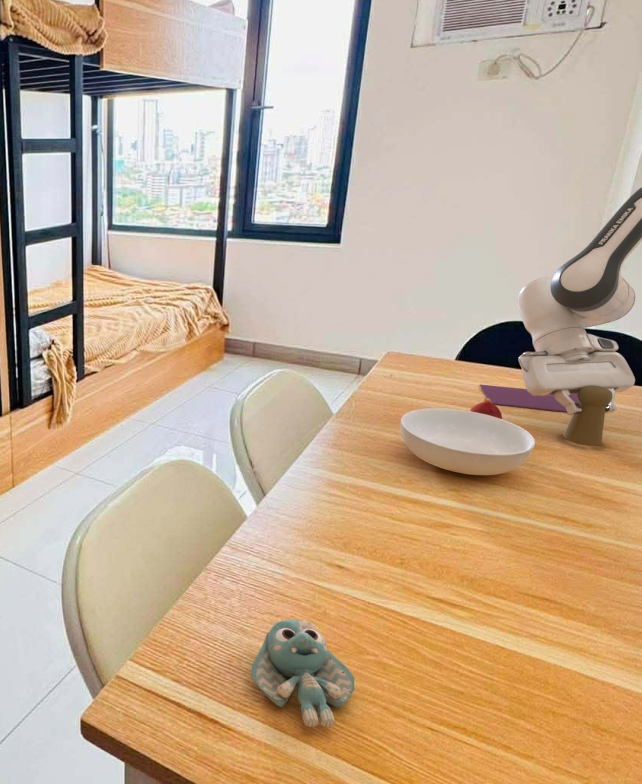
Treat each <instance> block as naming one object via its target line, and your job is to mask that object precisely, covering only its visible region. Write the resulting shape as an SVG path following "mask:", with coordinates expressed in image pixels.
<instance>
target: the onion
mask: <svg viewBox="0 0 642 784" xmlns="http://www.w3.org/2000/svg"><path fill="white" fill-rule="evenodd" d="M469 411H471V412H476V413H481V414H486V415H489V416H493V417H496V418H499V419H502V420H503V415H502V412H501V410H500V409H499V407H498V405H494V404H493V403H492V402H491V401H490V399H488V398H487V397H485V398H484V401H482V402H479V403H476V405H474V406H473V407H471V408H470V409H469Z"/></svg>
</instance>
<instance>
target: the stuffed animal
mask: <svg viewBox="0 0 642 784" xmlns="http://www.w3.org/2000/svg"><path fill="white" fill-rule="evenodd" d="M250 676H251V677H252V679H253V680H254V682H255V684H256V686H257V687H258V688H259V690H260V692H261V693H262V694H263V695H264V696H265V697H266V698H268V700H269V701H270V702H272V703H273V704H274V705H275V706H277V707H279V708H281V709H282V708H284V706H285V705H286V704H287V702H288V701H289V700H290V698H291V697H292V694H293V692H294V691H295V687H296V685H297V688H296V698H297V700H298V703H299V704H300V705H301V707H300V711H301V712H300V713H301V716H302V721H303V724H304V726H306V727H309V728H315V727H317V726H318V725H319V724H320V725H321V727H324V728H333V727H334V726H335V725H336V720H335V717H334V712H333V711H332V709H331V707H330V706H329V705H331V706H333V707H334V708H336V709H337V710H339V709H341V708H342V707H344V706H345V705H346V704H347V703H348V701H349V700H350V698H351V697H352V695H353V693H354V691H355V676H354V675H353V673H351V671H350V670H349V668H348V667H347V666H346V665H345V664H344V663H342V662H341V661H340V659H338V658H337V657H336V656H335V655H334V654H333V653H332V652H331V651H330V650H329V647H328V645H327V641H326V638H325V637H324V636H323V634H322V633H321V632H320V631H319V630H318V627H316V625H314V624H313V623H312V622H310V621H307V620H296V619H285V620H279V621H277V622H276V623H274V624H273V625H272V627H271V628H270V630H269V631H268V632H267V633H266V635H265V637H264V640H263V642H262V645H261V647H260V649H259V651H258V653H257V655H256V656H255V659H254V661H253V663H252V664H251V671H250ZM285 676H286V677H287V678H289V679H286V677H285ZM316 708H317V710H316Z"/></svg>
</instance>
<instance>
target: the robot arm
mask: <svg viewBox="0 0 642 784" xmlns="http://www.w3.org/2000/svg"><path fill="white" fill-rule="evenodd" d="M641 243H642V185H641V186H640V187H639V188H638V189H637V190H636V191H634V192H633V194H632V195H631V196H630V197H629V198H627V199H626V201H625V202H624V203H623V204H622V205H621V206H620V207H619V208H618V210H617V211H616V212H615V213H614V214H613V216H611V218H610V219H609V220H608V221H607V223H606V224H605V225H604V226H603V227H602V228H601V229H600V231H599V232H598V233H597V235H596V236H595V237H594V238H593V239H592V240H591V241H590V242H589V244H588V245H587V246H586V247H585V248H584V249H583V250H581V251H580V252H579V253H578V254H576V255H575V256H573V257H572V258H571V259H569V260H568V261H566V262H565V263H564V264H562V265H561V266H560V267H559V268H558V269H557V270H556V271H555V273H554V275H553V276H542V277H539V278H537V279H534V280H532V281H531V282H529V283H527V284H526V285H525V286H524V287H522V289H521V290H520V291H519V293H518V294H517V300H516V301H517V308H518V311H519V315H520V318H521V320H522V323H523V325H524V328H525V330H526V331H527V332H528V333H529V334H530V336H531V338H532V346H533V348H534V350H535V351H525V352H523V353H522V354H521V355H519V357H518V363H519V365H520V367H521V374H522V380H523V382H524V386H525V389H527V391H528V392H529V393H530V394H531V395H533V396H543V395H554V397H555V399H556V400H557V401H558V402H559V403H560V404H562V405H563V406H564V407H565V408H566V410H567V412H568V413H567V412H566V413H567V414H568V415H573V414H578V413H580V412H581V411H582V409H581V407H580V404H579V403H575V402H574V401H573V400H572V399H571V398H570V397H569V395H570V394H578V391H579V390H580V389H581V388H582V387H584V386H589V385H593V386H600V387H604V388H607V389H609V390H610V391H611V392H612V400H611V402H610V403H609V404H608V405H606V409H605V414H607V413H609V414H611V413H614V412H616V411H618V408H617V405H616V403H615V399H616V393H622V392H625V391H627V390H629V389H630V388H632V387H634V386H635V382H636V378H635V376H634V373H633V371H632V369H631V368H630V366H629V365H630V364H628V362H627V360H626V359H625V357H624V356H623V355H622V354H621V353H619V352H616V351H618V350H619V344H618V343H617V341H615V340H613V339H609V338H603V337H600V336H597V335H594V334H591V333H587V331H586V328H592V327H597V326H602V325H605V324H607V323H608V324H609V323H611V322H616V321H617V320H620V319H621V318H623V317H624V316H626V315H627V314H628V313H629V312H630V311H631V310H632V308H633V307H634V305H635V302H636V292H635V290H634V288H633V287H632V286H631V285H630V284H629V282H628V281H627V280H626V279H625V278H624V277H623V276H622V275H621V274H622V273H621V271H622V268H623V267H622V266H623V265H624V262H625V261H626V260H627V259H628V257H629V256H630V255H631V254H632V253H633V252H634V250H635V249H636V248H637V247H638V246H639V245H640V244H641Z"/></svg>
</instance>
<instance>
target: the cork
mask: <svg viewBox="0 0 642 784" xmlns="http://www.w3.org/2000/svg"><path fill="white" fill-rule="evenodd" d="M578 400H579V404H580V407H581V409H582V411H581V412H580V413H578V414H572V416H571V418H570V420H569V422H568V424H567V426H566V429H565V431H564V433H563V435H562V436H563V438H564V439H566V440H568V441H569V442H571V443H572V442H573V443H575V444H579V445H584V446H585V445H586V446H601V445H602V443H603V441H602V440H603V435H604V433H603V432H604V426H605V425H604V424H605V418H606V413H605V409H606V405H608V404H609V403H610V402H611V400H612V392H611V391H610V390H609V389H607V388H604V387H600V386H593V385H589V386H584V387H582V388H581V389H580V390H579V391H578Z"/></svg>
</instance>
